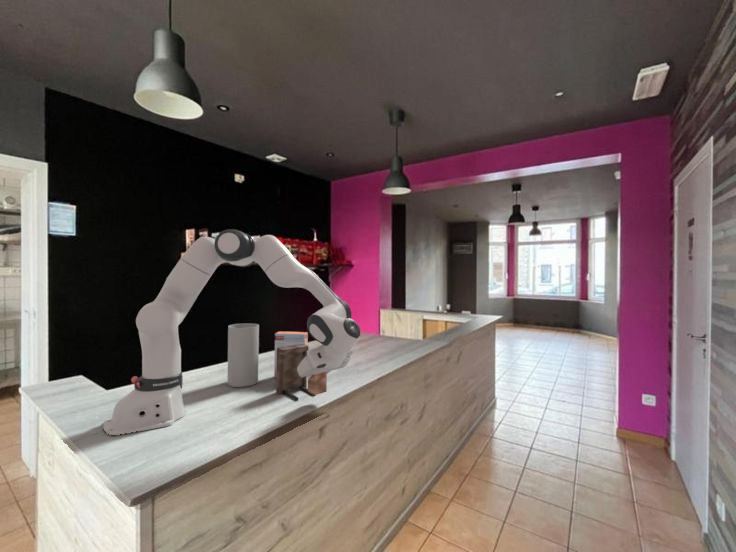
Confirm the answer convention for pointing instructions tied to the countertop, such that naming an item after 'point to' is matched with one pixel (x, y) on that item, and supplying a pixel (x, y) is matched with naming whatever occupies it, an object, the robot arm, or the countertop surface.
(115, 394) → the countertop surface
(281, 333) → the cracker box
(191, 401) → the countertop surface
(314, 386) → the block
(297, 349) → the cubby
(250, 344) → the cylinder vase
